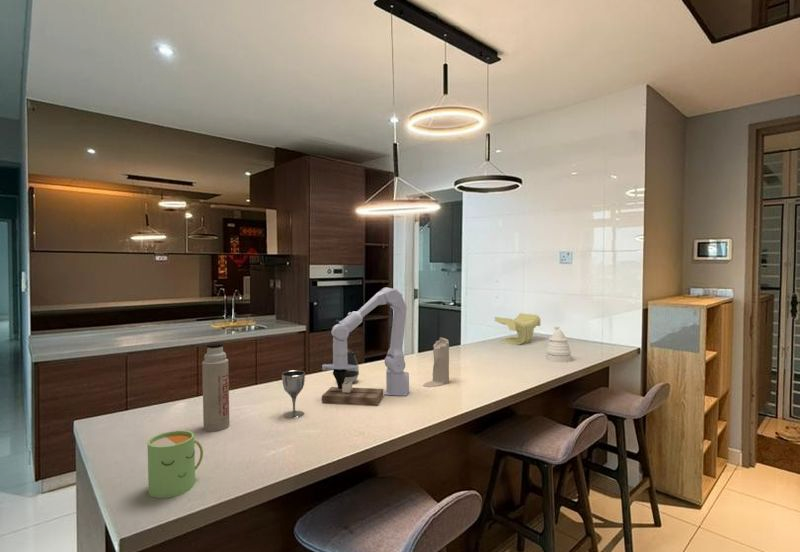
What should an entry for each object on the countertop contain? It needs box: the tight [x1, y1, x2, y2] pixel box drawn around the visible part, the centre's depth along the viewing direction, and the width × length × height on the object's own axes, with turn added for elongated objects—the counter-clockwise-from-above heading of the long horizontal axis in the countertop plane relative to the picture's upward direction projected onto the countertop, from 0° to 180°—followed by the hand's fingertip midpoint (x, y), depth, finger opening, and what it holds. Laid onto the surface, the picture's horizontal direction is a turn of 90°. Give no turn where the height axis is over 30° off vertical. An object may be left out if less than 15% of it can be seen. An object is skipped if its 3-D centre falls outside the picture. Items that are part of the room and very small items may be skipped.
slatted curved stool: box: [494, 312, 541, 345], centre depth 291 cm, size 30×16×18 cm, turn 131°
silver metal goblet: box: [281, 369, 306, 419], centre depth 155 cm, size 8×8×15 cm
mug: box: [147, 430, 204, 499], centre depth 106 cm, size 13×10×12 cm
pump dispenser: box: [344, 348, 360, 384], centre depth 197 cm, size 10×10×15 cm
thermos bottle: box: [201, 342, 231, 433], centre depth 144 cm, size 8×8×28 cm
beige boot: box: [422, 337, 450, 388], centre depth 193 cm, size 7×14×20 cm, turn 131°
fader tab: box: [342, 382, 353, 393], centre depth 172 cm, size 3×4×3 cm
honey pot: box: [545, 326, 572, 363], centre depth 239 cm, size 13×13×18 cm
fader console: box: [321, 386, 384, 407], centre depth 172 cm, size 22×12×3 cm, turn 81°
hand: (340, 388), depth 172 cm, fingers closed
